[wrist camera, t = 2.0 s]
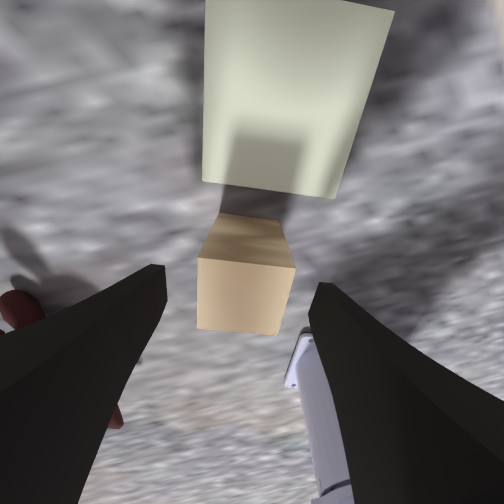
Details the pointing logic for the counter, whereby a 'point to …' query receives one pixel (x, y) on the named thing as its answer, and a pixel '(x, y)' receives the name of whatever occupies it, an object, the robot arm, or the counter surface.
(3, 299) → the icecream
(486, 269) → the counter surface
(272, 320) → the block
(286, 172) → the coaster
